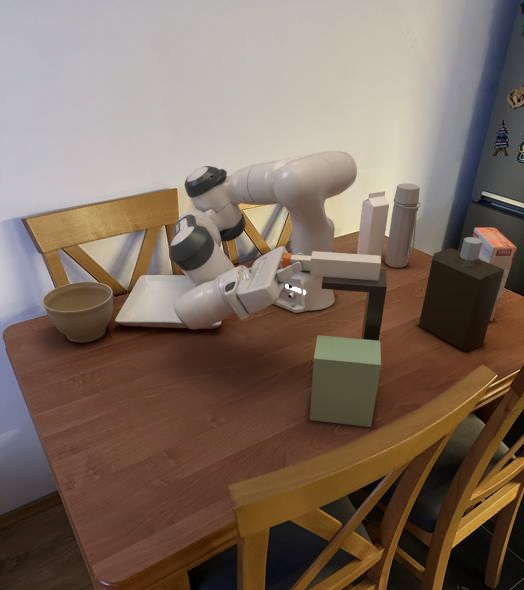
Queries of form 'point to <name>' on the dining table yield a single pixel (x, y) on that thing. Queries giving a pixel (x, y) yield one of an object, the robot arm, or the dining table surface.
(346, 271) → the white bottle
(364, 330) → the dark l-shaped bracket
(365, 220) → the milk
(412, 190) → the water bottle
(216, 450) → the dining table surface
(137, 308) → the square plate
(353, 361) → the green block
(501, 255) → the cracker box
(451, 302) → the bottle
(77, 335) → the planter bowl
